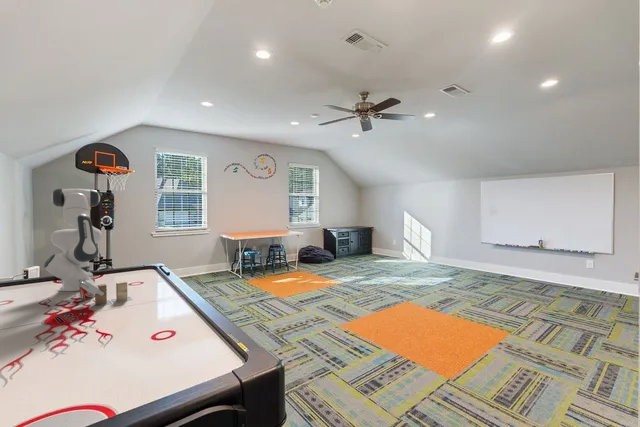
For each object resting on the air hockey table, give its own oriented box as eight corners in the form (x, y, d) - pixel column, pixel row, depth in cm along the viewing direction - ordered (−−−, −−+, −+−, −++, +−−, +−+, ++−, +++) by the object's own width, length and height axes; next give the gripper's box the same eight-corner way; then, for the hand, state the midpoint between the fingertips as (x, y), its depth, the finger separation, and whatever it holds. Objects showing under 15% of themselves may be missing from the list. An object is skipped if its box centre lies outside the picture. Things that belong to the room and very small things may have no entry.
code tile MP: (110, 300, 164) (110, 299, 164) (129, 297, 170) (129, 296, 170) (113, 304, 157) (113, 303, 157) (133, 300, 164) (133, 300, 164)
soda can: (81, 301, 163) (81, 280, 163) (78, 298, 167) (77, 278, 167) (97, 297, 169) (96, 277, 168) (93, 295, 173) (92, 275, 173)
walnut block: (95, 303, 157) (94, 285, 157) (105, 301, 160) (105, 283, 160) (96, 305, 154) (96, 286, 154) (106, 303, 157) (106, 285, 157)
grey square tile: (89, 304, 157) (89, 303, 157) (109, 300, 163) (109, 300, 163) (91, 308, 151) (91, 307, 151) (112, 304, 157) (112, 303, 157)
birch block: (116, 299, 164) (116, 282, 163) (125, 298, 167) (125, 281, 167) (117, 301, 160) (117, 283, 160) (127, 299, 164) (127, 282, 163)
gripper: (86, 277, 144) (110, 292, 151) (82, 270, 159) (104, 284, 166) (74, 287, 141) (100, 302, 148) (71, 279, 156) (94, 294, 163)
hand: (102, 293), depth 157 cm, fingers closed on walnut block, 4 cm apart
